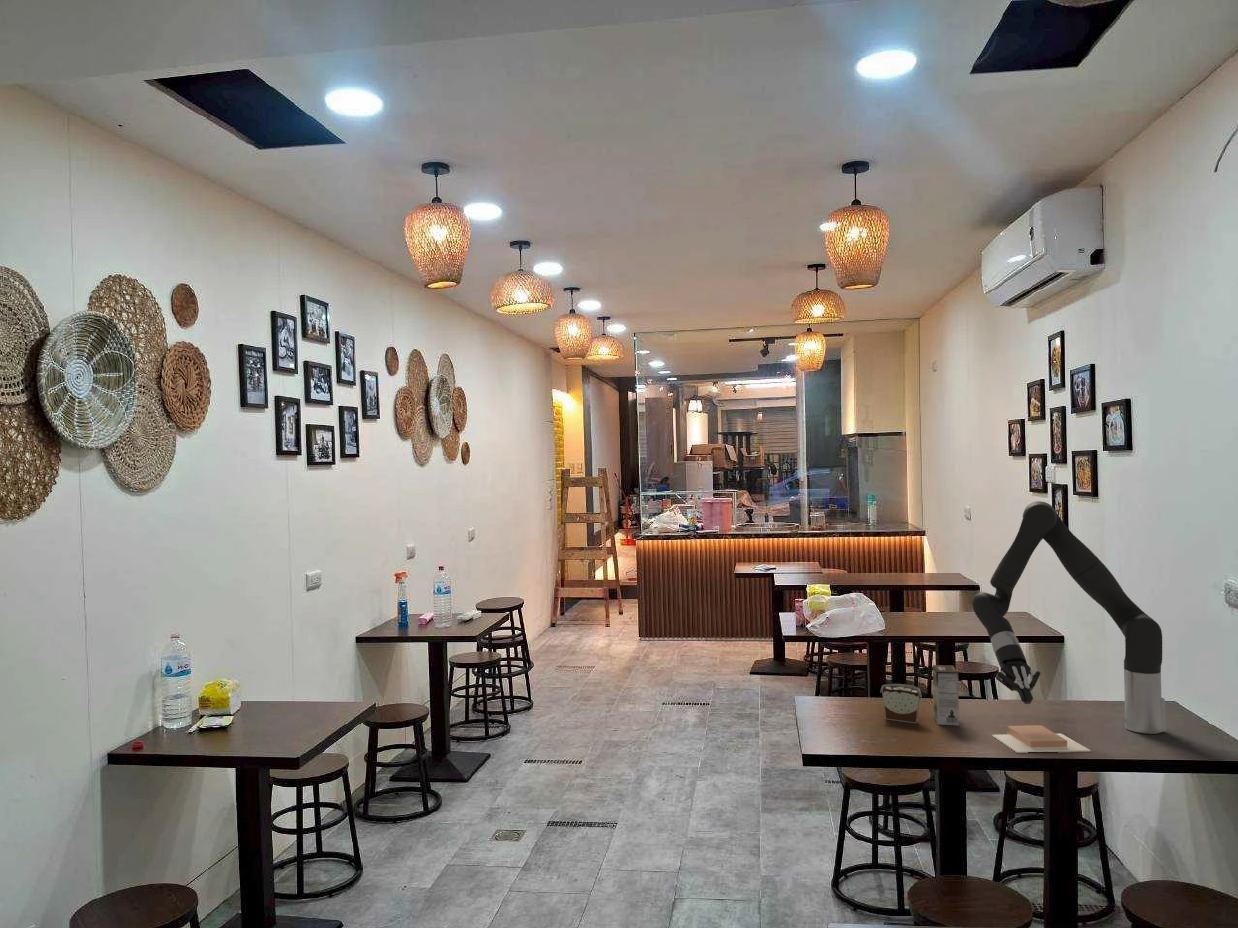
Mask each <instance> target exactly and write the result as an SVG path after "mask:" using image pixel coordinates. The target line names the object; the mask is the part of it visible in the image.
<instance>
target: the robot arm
mask: <svg viewBox="0 0 1238 928" xmlns="http://www.w3.org/2000/svg"><path fill="white" fill-rule="evenodd" d="M1043 540H1044V542H1046V543H1047V544H1048V546H1049V547H1050V548H1051V549H1052V550H1053V552H1054V553H1055V555H1056V557H1057V558H1058V560H1059V561H1060V563H1061V565H1062V566H1063V567H1064V569H1065V570H1066V572H1067V573H1068V574H1069V575H1070V576H1071V578H1072V579H1073V580H1074V581H1075V583H1076V584H1077V585H1078V586H1079V587H1080V588H1081V589H1082V590H1083V591H1084V592H1085V593H1086V594H1087V595H1088V596H1089V597H1090V598H1092V600H1094V601H1095V602H1096V603H1097V604H1098V605H1100V607H1102V609H1104V611H1106V613H1108V615H1109V616H1110V617H1111V619H1112V620H1113V621H1114V623H1115V624H1116V626H1117V627H1118V628H1119V630H1120V631H1121V633H1122V634H1123V636H1124V642H1125V643H1124V646H1125V647H1124V650H1125V654H1124V655H1125V656H1124V659H1123V679H1124V680H1123V689H1124V695H1123V696H1124V726H1125V727H1124V728H1125V729H1126V730H1129V731H1132V732H1135V733H1140V734H1150V735H1153V734H1154V735H1155V734H1156V735H1157V734H1161V733H1166V699H1165V698H1164V697H1162V663H1163V631H1162V628H1161V626H1160V624H1159V623H1158V622H1157V621H1156V620H1154V618H1152V617H1151V616H1149V615H1148V614H1147V613H1146V612H1145V611H1143V610H1142V609H1141V608H1140V607H1139V606H1138V605H1137V604H1136V603H1135V602H1134V601H1132V599H1131V598H1130V597H1129V596H1128V595H1127V594H1126V593H1125V591H1124V589H1123V588H1122V586H1121V585H1120V583H1119V582H1118V580H1117V579H1116V578H1115V575H1113V574H1112V572H1111V571H1110V569H1108V567H1107V566H1106V565H1105V564H1104V563H1103V562H1102V560H1100V558H1099V557H1098V556H1097V555H1095V553H1094V552H1093V550H1091V549H1090V548H1089V547H1088V546H1087V545H1085V543H1084V542H1082V541H1081V540H1080V539H1079V538H1078V537H1077V536H1076V535H1074V533H1072V531H1071V530H1070V529H1069V528H1068V527H1067V525H1066V524H1065V522H1064V521H1063V520H1062V519H1061V517H1060V515H1058V512H1057V510H1056V509H1055V508H1054V507H1053V506H1052V505H1051V504H1049V503H1048V502H1045V501H1041V500H1039V501H1032V502H1030V503H1029V504H1027V506H1026V507H1025V508H1024V511H1023V513H1022V520H1021V523H1020V526H1019V528H1018V532H1017V533H1016V536H1015V538H1014V540H1013V542H1012V544H1011V545H1010V547H1009V548H1008V550H1007V552H1006V553H1005V554H1004V556H1003V557H1002V558H1001V560H1000V562H999V564H998V565H997V567H996V569H995V571H994V572H993V574H992V575H991V578H990V581H989V582H990V583H989V584H990V585H991V586H992V587H993V588H994V589H995V594H992V593H988V592H984V591H983V592H982V591H980V592H978V593H976V594H975V595H974V597H973V599H972V605H971V606H972V609H973V611H974V614H975V616H976V617H977V618H978V620H979V621H980V623H981V624H982V625H983V627H984V628H985V629H986V632H987V635H988V638H989V639H990V642H991V647H992V650H993V653H994V656H995V657H996V660H997V663H998V666H999V668H1000V671H998V672H997V674H996V676H995V679H996V680H997V681H998V682H1000V684H1002V685H1004V687H1006V688H1008V689H1009V690H1010V691H1011V692H1014V691H1015V692H1017V693H1018V695H1019V697H1020V701H1022V702H1023V703H1024V705H1026V704H1027V705H1029V704H1031V703H1032V702H1033V700H1034V698H1033V694H1032V691H1033V689H1034V688H1035V686H1036V684H1037V682H1038V681H1039V678H1040V676H1041V672H1040V671H1037V670H1036V671H1034V670H1032V668H1031V666H1029V664H1028V662H1027V659H1026V655H1025V654H1024V652H1023V649H1022V647H1021V644H1020V642H1019V639H1018V637H1016V635H1015V632H1014V630H1013V628H1012V625H1011V622H1010V621H1009V619H1008V618H1005V617H1004V616H1006V614H1007V613H1008V612H1009V609H1010V605H1011V601H1012V600H1011V599H1012V596H1013V591H1014V588H1015V587H1016V585H1017V584H1018V582H1019V580H1020V579H1021V577H1022V575H1023V572H1024V571H1025V569H1026V567H1027V564H1028V562H1029V561H1030V558H1031V557H1032V555H1033V553H1034V552H1035V550H1036V548H1037V547H1038V546H1039V544H1040V543H1041V541H1043ZM1029 675H1030V676H1029ZM1029 677H1030V679H1031V681H1030V683H1029Z"/></svg>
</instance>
